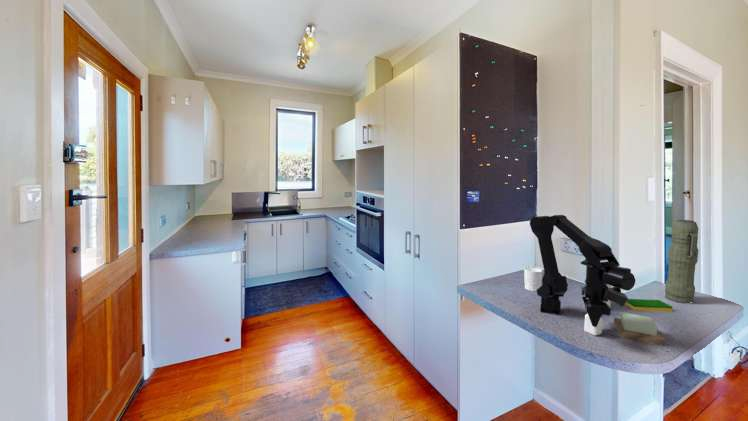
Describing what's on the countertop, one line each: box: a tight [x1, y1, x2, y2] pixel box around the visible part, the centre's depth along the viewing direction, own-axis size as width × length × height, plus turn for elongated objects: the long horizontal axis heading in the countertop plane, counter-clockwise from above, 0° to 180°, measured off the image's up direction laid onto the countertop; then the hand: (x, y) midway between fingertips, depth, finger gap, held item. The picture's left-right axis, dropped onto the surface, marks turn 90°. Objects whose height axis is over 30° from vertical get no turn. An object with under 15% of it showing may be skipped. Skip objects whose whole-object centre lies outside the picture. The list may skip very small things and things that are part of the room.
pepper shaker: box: [583, 313, 604, 337], centre depth 102 cm, size 4×4×10 cm
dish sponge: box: [624, 298, 674, 313], centre depth 122 cm, size 7×14×2 cm, turn 81°
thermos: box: [664, 219, 699, 304], centre depth 126 cm, size 9×12×35 cm
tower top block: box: [620, 311, 658, 336], centre depth 101 cm, size 8×8×3 cm
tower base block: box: [613, 317, 665, 347], centre depth 101 cm, size 11×11×3 cm
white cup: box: [523, 266, 543, 292], centre depth 143 cm, size 8×8×10 cm
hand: (593, 323), depth 102 cm, fingers closed on pepper shaker, 5 cm apart
